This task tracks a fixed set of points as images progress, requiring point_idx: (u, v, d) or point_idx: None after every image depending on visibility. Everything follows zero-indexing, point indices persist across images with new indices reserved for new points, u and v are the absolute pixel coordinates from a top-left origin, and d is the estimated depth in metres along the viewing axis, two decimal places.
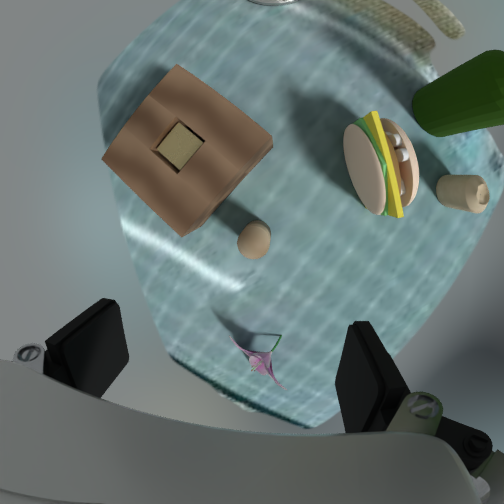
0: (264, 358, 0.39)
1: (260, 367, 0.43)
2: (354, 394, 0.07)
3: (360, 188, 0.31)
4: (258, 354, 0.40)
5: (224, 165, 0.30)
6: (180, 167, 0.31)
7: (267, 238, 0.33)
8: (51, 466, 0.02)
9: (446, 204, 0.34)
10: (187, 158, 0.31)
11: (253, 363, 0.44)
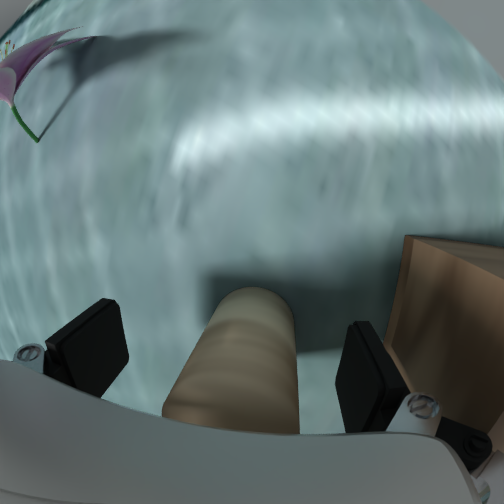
0: None
1: None
2: (354, 394, 0.07)
3: None
4: (7, 78, 0.07)
5: None
6: None
7: None
8: (51, 466, 0.02)
9: None
10: None
11: None
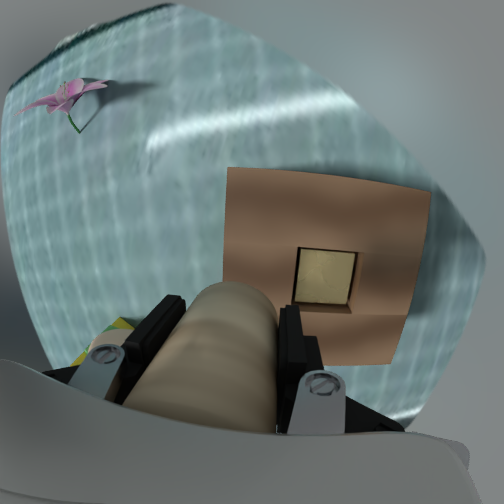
0: (61, 106, 0.21)
1: (66, 90, 0.23)
2: None
3: None
4: (69, 102, 0.22)
5: None
6: (302, 253, 0.21)
7: None
8: (51, 466, 0.02)
9: None
10: (301, 270, 0.21)
11: (76, 84, 0.24)
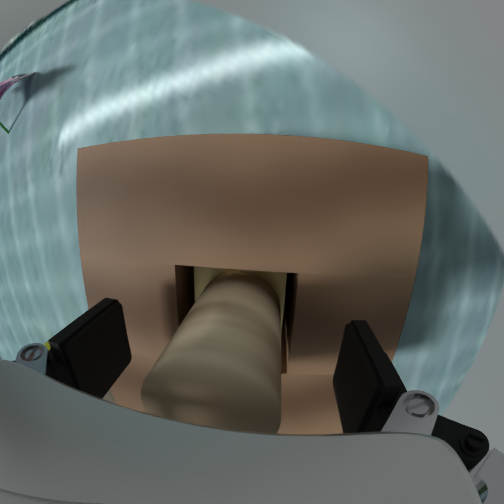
0: None
1: None
2: (351, 393, 0.07)
3: None
4: None
5: None
6: (197, 270, 0.13)
7: None
8: (51, 466, 0.02)
9: None
10: None
11: (5, 82, 0.16)
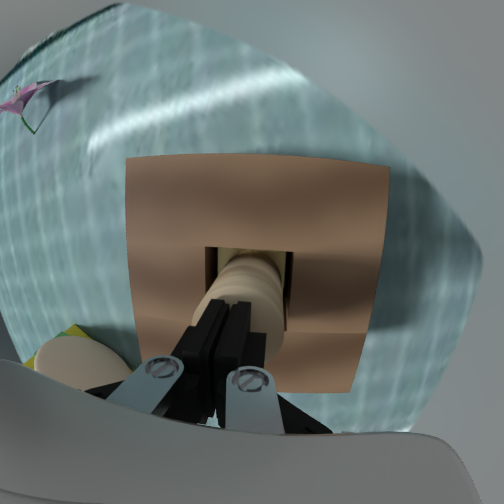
0: (12, 108, 0.18)
1: (21, 94, 0.20)
2: None
3: (66, 357, 0.23)
4: (19, 104, 0.18)
5: (153, 307, 0.17)
6: (220, 251, 0.18)
7: None
8: (51, 466, 0.02)
9: None
10: None
11: (30, 87, 0.20)
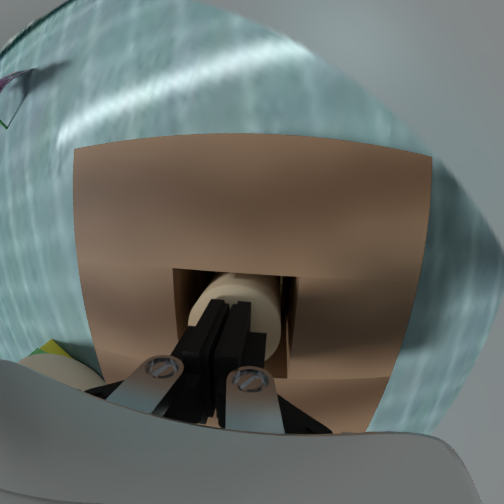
0: None
1: None
2: None
3: None
4: None
5: (115, 342, 0.12)
6: None
7: None
8: (51, 466, 0.02)
9: None
10: None
11: None
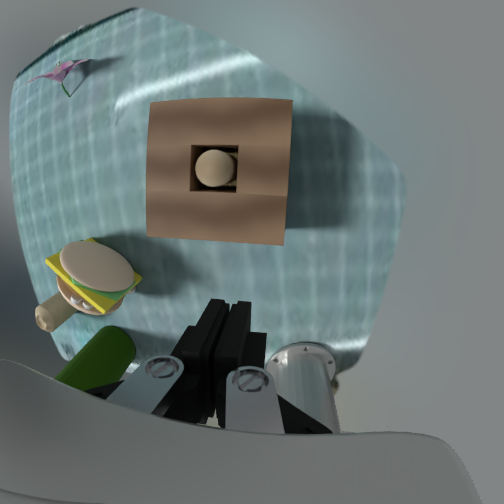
0: (57, 77, 0.28)
1: (60, 68, 0.30)
2: None
3: (86, 250, 0.34)
4: (62, 74, 0.28)
5: (159, 184, 0.29)
6: None
7: (204, 183, 0.28)
8: (51, 466, 0.02)
9: (60, 292, 0.43)
10: None
11: (67, 64, 0.30)
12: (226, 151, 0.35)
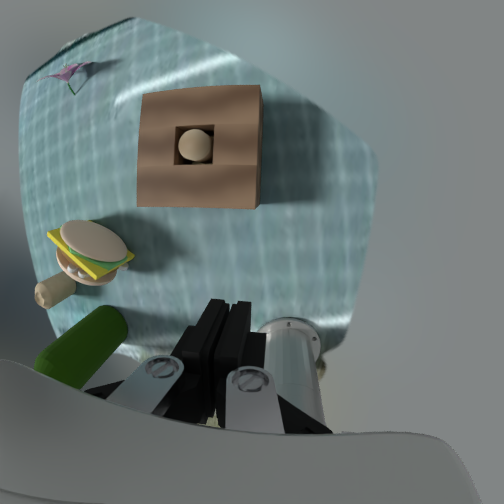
0: (64, 76, 0.33)
1: (67, 69, 0.35)
2: None
3: (84, 226, 0.38)
4: (69, 74, 0.33)
5: (148, 161, 0.32)
6: None
7: (186, 157, 0.32)
8: (51, 466, 0.02)
9: (59, 273, 0.46)
10: None
11: (73, 66, 0.35)
12: None
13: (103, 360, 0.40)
